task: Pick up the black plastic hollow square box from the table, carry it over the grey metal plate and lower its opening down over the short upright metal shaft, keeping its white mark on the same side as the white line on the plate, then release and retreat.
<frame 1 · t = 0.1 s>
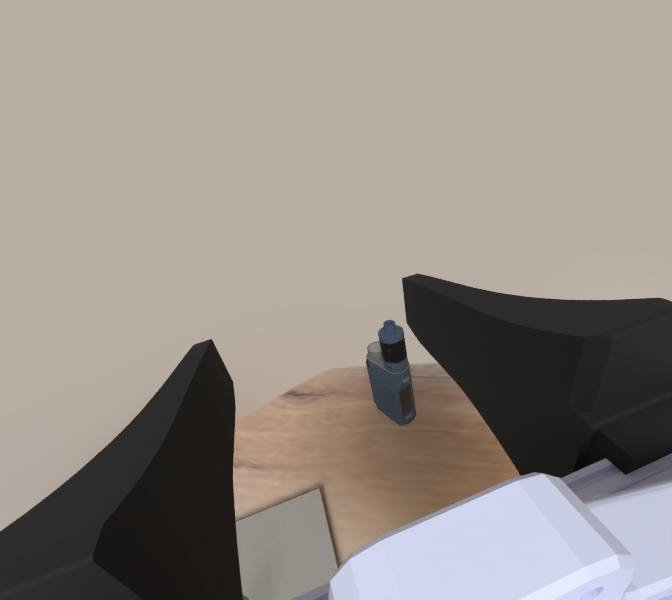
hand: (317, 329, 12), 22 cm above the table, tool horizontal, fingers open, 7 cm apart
vaping device: (395, 411, 35), on the table
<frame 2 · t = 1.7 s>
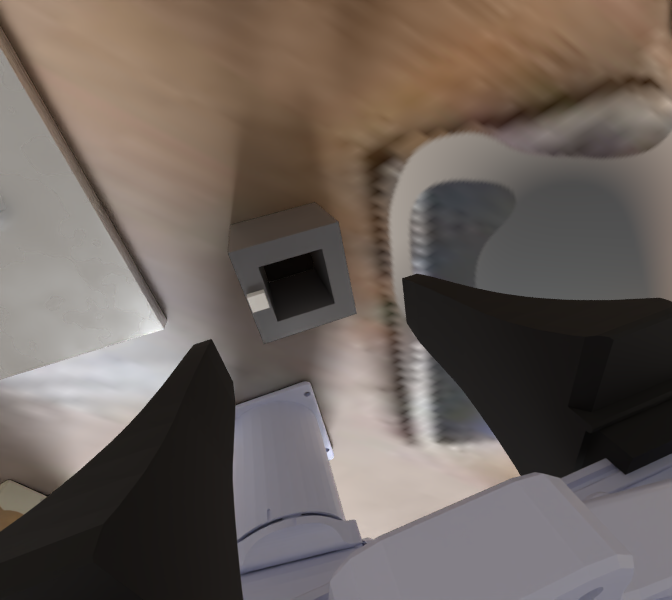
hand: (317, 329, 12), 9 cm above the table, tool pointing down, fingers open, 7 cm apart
hollow square box: (285, 253, 19), on the table
skincare box: (26, 507, 23), on the table
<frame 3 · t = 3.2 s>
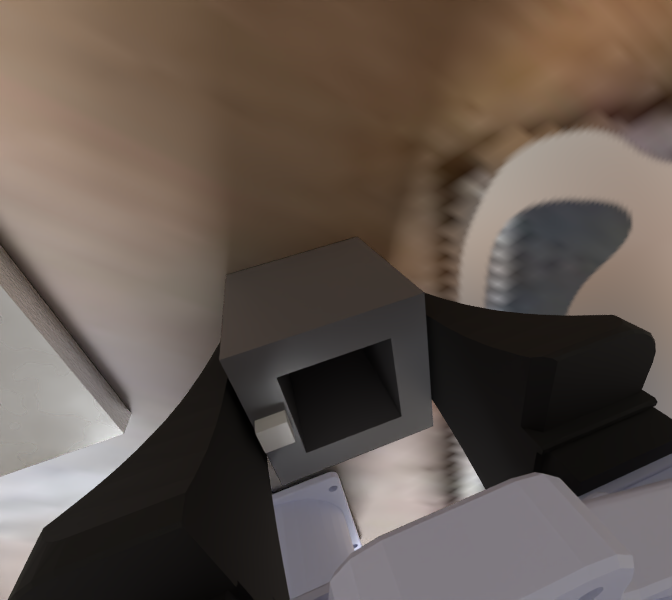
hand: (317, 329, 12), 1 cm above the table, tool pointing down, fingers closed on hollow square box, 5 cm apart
hollow square box: (309, 311, 13), on the table, touching gripper
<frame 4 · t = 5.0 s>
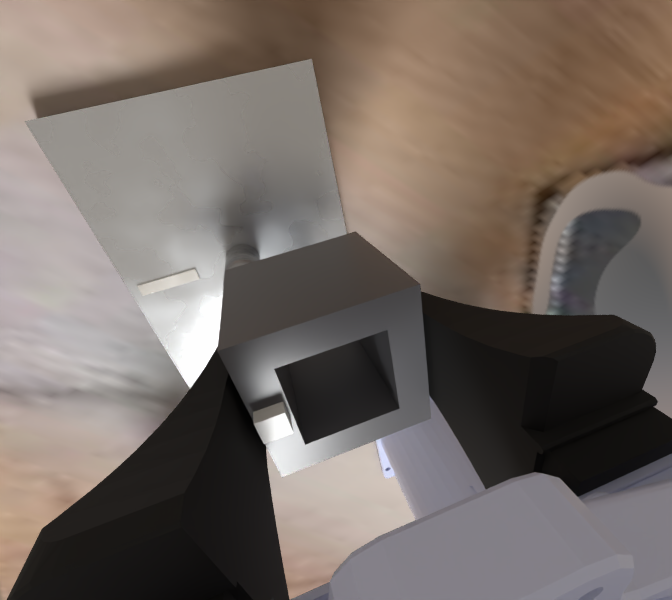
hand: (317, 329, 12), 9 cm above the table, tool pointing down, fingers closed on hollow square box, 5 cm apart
hollow square box: (308, 306, 13), point 7 cm above the table, touching gripper
shaft plate: (243, 254, 18), on the table
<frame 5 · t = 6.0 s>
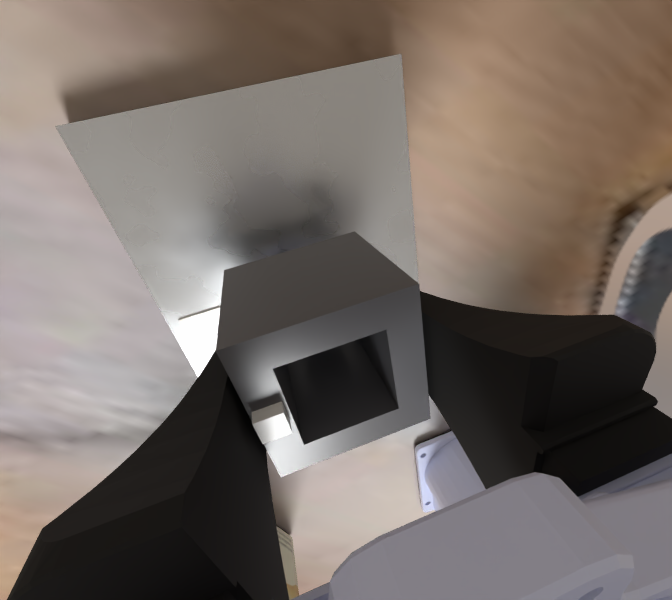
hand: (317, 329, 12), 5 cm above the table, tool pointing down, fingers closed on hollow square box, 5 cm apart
hollow square box: (308, 306, 13), point 3 cm above the table, touching gripper
shaft plate: (296, 280, 16), on the table
skincare box: (246, 532, 24), on the table
when the fingers open (3 cm above the table, at t = 6.8 s): hollow square box stays where it is, resting on shaft plate.
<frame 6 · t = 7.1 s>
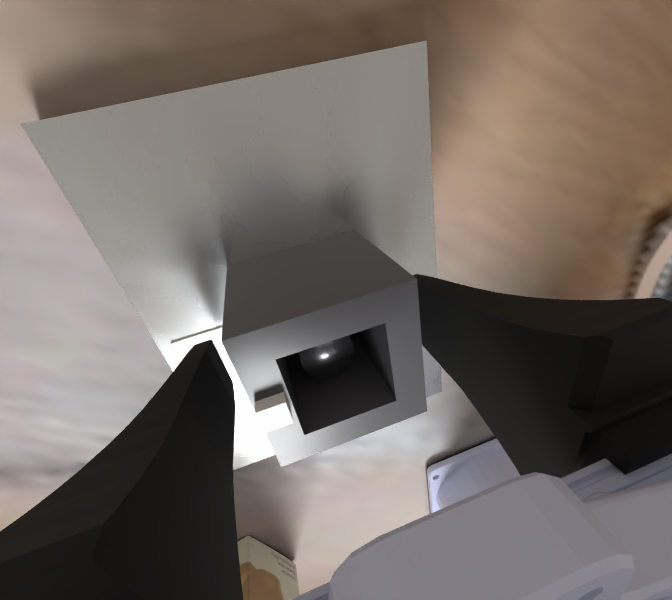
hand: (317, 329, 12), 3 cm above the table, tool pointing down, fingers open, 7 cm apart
hollow square box: (308, 302, 13), point 1 cm above the table, touching shaft plate
shaft plate: (303, 295, 14), on the table
skincare box: (247, 559, 23), on the table
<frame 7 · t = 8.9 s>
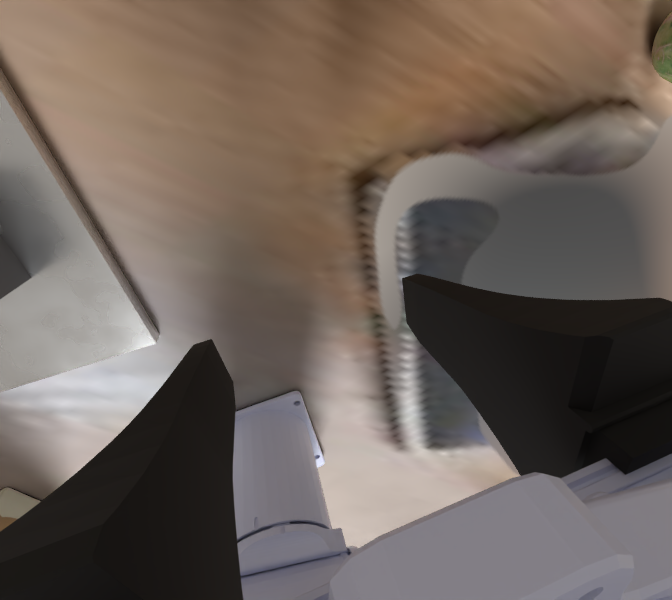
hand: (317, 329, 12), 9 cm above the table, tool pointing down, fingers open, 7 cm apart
skincare box: (23, 513, 24), on the table
vegetable: (646, 52, 21), on the table
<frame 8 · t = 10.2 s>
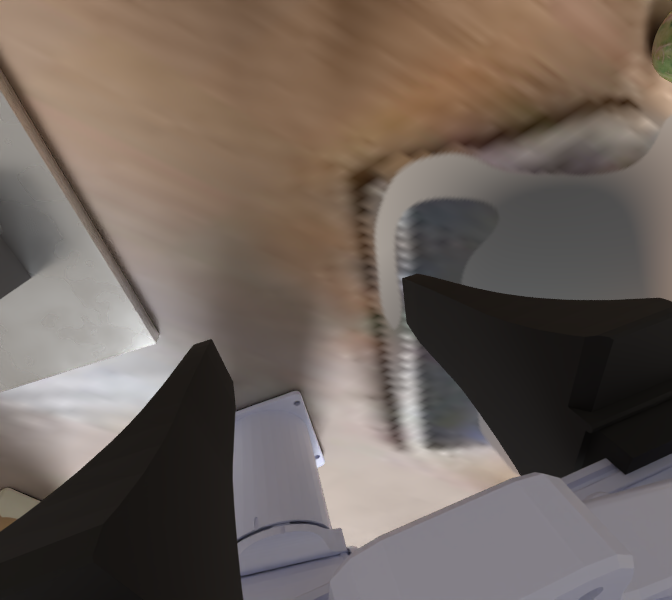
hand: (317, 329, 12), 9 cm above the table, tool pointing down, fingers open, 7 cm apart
skincare box: (23, 513, 24), on the table
vegetable: (646, 52, 21), on the table
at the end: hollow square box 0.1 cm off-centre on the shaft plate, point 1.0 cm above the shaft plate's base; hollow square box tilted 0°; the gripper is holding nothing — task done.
